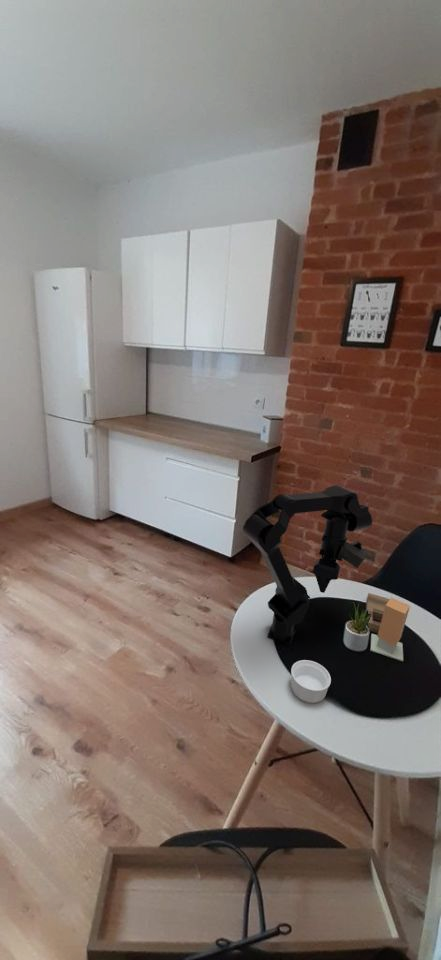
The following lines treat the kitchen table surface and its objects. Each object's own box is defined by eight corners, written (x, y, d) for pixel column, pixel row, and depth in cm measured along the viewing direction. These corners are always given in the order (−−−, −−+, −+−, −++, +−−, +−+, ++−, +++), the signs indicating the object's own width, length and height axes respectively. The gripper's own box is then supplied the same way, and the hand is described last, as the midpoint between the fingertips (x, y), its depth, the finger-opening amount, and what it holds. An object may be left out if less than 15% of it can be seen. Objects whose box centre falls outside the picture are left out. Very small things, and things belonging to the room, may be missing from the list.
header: (394, 638, 109) (396, 631, 108) (364, 629, 111) (366, 621, 111) (393, 607, 123) (394, 600, 122) (366, 599, 126) (368, 592, 125)
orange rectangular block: (392, 655, 102) (404, 613, 98) (374, 645, 104) (385, 605, 100) (398, 646, 105) (410, 605, 101) (380, 637, 108) (391, 597, 104)
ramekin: (286, 698, 86) (288, 682, 85) (290, 669, 94) (293, 655, 93) (326, 711, 84) (330, 695, 83) (328, 680, 92) (331, 666, 91)
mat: (402, 661, 100) (403, 660, 100) (370, 650, 103) (370, 649, 103) (401, 644, 107) (402, 643, 107) (371, 634, 109) (371, 633, 109)
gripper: (365, 556, 92) (352, 611, 97) (368, 527, 109) (356, 575, 114) (317, 544, 96) (307, 598, 101) (327, 518, 113) (318, 565, 117)
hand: (324, 583), depth 108 cm, fingers open, 9 cm apart
